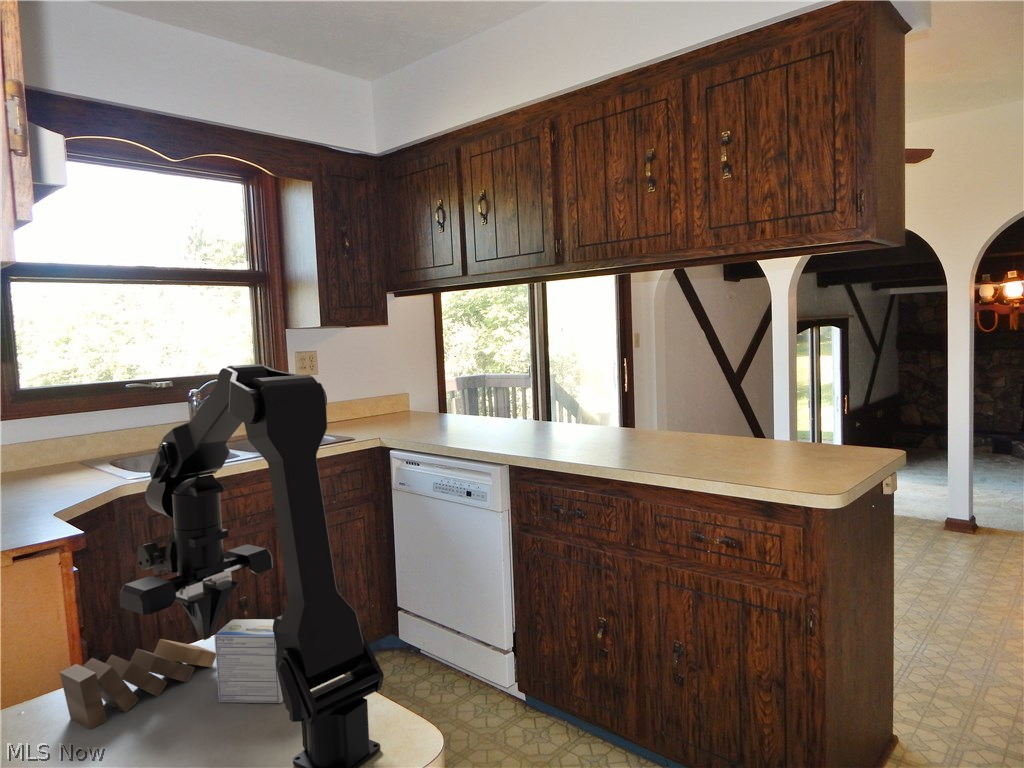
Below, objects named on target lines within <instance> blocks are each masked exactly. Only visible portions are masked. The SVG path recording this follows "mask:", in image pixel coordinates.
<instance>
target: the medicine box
mask: <svg viewBox="0 0 1024 768" xmlns="http://www.w3.org/2000/svg"><path fill="white" fill-rule="evenodd" d="M273 623H274V619H271V618H270V619H267V618H266V619H265V618H264V619H260V618H257V619H252V618H251V619H231V620H230V621H229V622H228V623H226V624H225V625H224V626H223V627H222V628H220V629H219V630H218V632H216V633H215V634H214V648H215V649H214V650H215V651H214V652H215V653H216V658H215V663H216V665H215V666H216V675H217V676H216V677H217V688H218V689H217V690H218V691H217V693H218V694H217V695H218V702H219V703H247V704H248V703H253V704H254V703H259V704H260V703H264V704H266V703H267V704H272V703H273V704H282V703H284V701H283V696H282V692H281V687H280V682H279V678H278V673H277V669H276V641H275V636H274V632H273Z"/></svg>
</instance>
